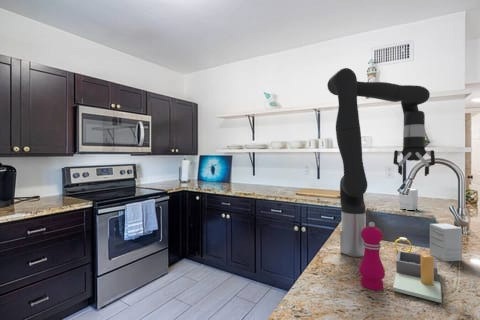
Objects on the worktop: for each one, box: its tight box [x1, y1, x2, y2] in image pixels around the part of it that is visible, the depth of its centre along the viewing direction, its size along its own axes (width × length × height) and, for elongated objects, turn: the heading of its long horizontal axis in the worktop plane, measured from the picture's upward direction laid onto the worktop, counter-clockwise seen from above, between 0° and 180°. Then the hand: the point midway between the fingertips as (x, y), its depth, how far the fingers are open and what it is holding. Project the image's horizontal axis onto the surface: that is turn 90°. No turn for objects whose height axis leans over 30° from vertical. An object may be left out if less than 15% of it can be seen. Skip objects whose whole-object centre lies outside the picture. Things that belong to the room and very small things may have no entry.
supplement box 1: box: [398, 188, 419, 211], centre depth 187 cm, size 9×9×15 cm
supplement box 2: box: [429, 222, 463, 262], centre depth 101 cm, size 7×7×13 cm
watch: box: [394, 236, 413, 253], centre depth 108 cm, size 6×3×6 cm, turn 62°
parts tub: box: [395, 250, 438, 282], centre depth 89 cm, size 11×11×5 cm
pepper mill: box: [358, 221, 386, 291], centre depth 81 cm, size 7×7×20 cm
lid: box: [392, 253, 443, 304], centre depth 78 cm, size 11×11×10 cm
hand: (413, 175), depth 108 cm, fingers open, 8 cm apart
